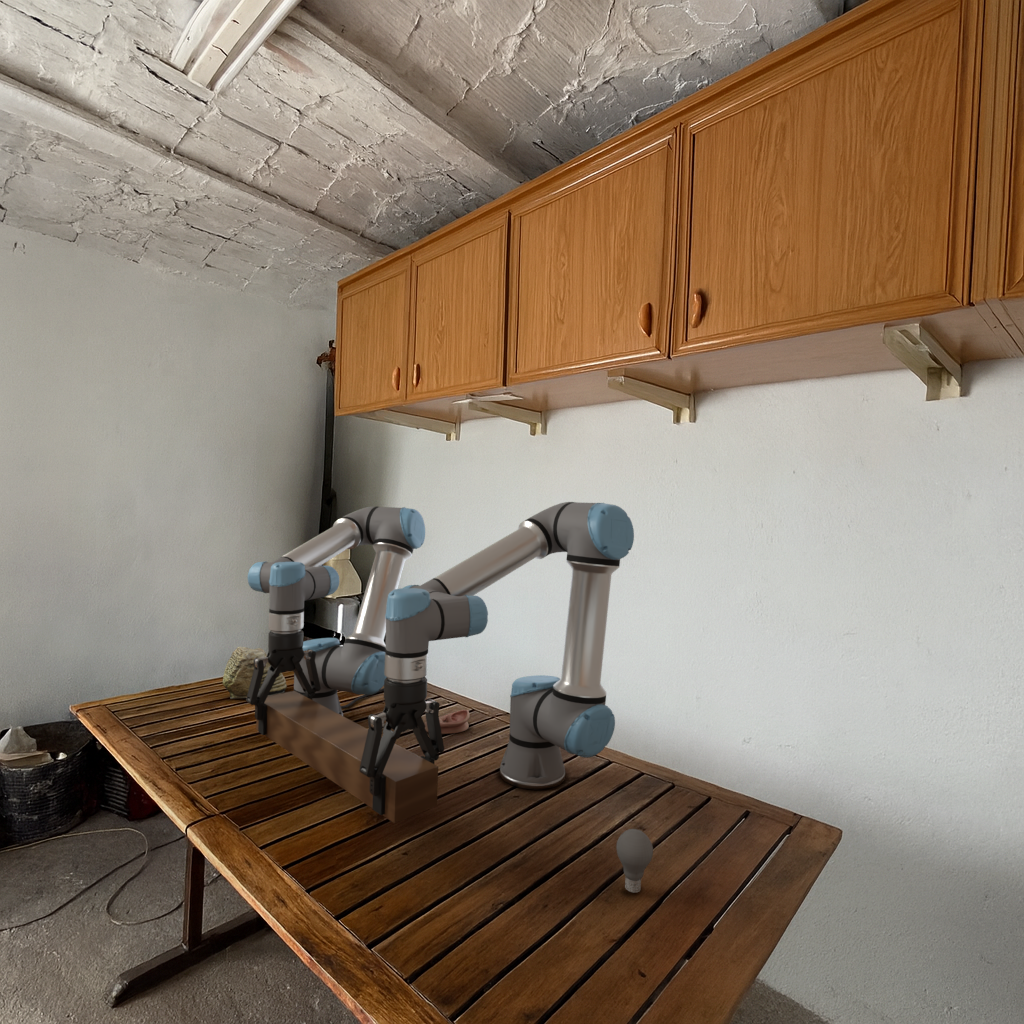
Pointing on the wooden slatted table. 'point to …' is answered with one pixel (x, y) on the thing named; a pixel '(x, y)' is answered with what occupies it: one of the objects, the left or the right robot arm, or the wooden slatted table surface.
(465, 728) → the anatomical model
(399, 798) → the beam
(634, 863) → the light bulb
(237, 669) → the fossil
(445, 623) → the right robot arm
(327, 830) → the wooden slatted table surface
